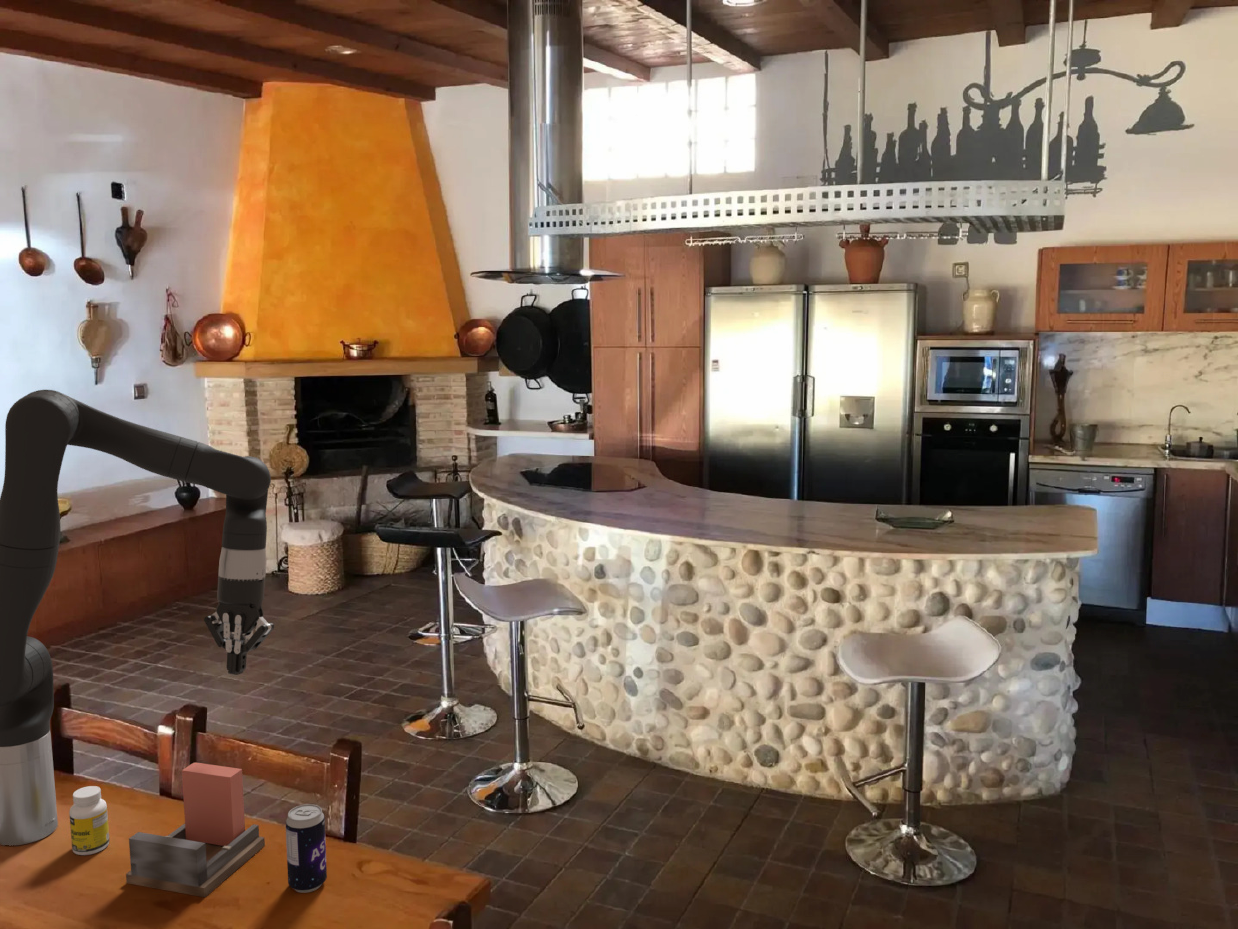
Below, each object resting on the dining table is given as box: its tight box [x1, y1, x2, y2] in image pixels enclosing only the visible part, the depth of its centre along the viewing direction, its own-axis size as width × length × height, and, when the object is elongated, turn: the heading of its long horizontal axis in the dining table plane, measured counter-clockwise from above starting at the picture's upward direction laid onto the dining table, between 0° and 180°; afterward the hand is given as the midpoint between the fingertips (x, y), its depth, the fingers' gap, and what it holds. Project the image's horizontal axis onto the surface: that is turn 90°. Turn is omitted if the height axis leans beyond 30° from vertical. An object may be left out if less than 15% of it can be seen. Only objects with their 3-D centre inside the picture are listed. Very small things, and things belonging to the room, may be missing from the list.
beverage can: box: [285, 803, 328, 894], centre depth 149 cm, size 6×6×12 cm
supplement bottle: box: [68, 785, 110, 856], centre depth 159 cm, size 5×5×10 cm
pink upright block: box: [181, 762, 246, 846], centre depth 158 cm, size 9×3×12 cm, turn 75°
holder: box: [125, 823, 266, 898], centre depth 154 cm, size 14×15×8 cm
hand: (235, 673), depth 167 cm, fingers closed
